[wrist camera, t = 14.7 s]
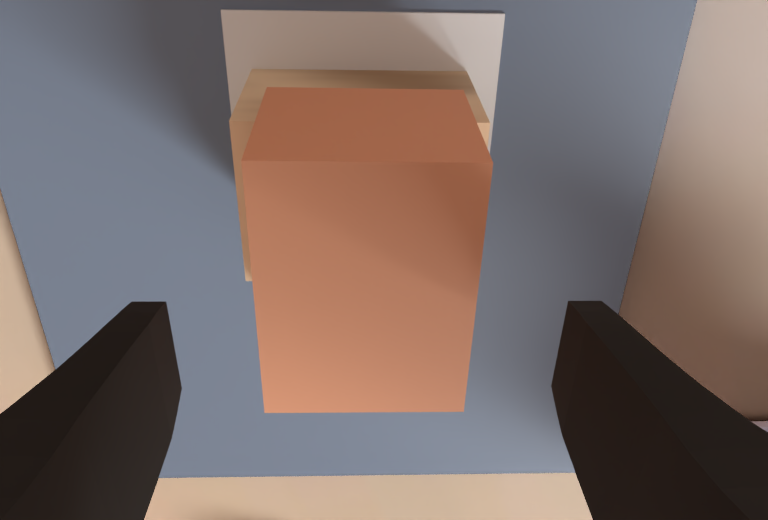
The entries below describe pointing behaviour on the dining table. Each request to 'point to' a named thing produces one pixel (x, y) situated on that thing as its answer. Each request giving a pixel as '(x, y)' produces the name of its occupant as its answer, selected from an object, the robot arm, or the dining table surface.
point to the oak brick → (375, 79)
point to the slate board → (221, 217)
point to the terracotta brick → (365, 247)
